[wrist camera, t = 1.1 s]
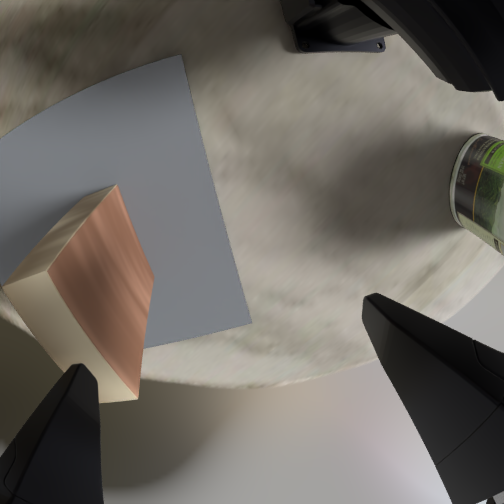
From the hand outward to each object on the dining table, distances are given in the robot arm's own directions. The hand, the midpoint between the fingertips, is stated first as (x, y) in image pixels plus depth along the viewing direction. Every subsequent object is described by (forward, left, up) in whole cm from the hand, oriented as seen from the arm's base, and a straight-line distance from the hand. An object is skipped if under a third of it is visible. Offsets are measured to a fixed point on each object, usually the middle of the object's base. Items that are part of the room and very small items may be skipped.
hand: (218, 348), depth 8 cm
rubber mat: (+9, 0, -12) cm, 15 cm away
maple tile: (+6, 0, -12) cm, 13 cm away
